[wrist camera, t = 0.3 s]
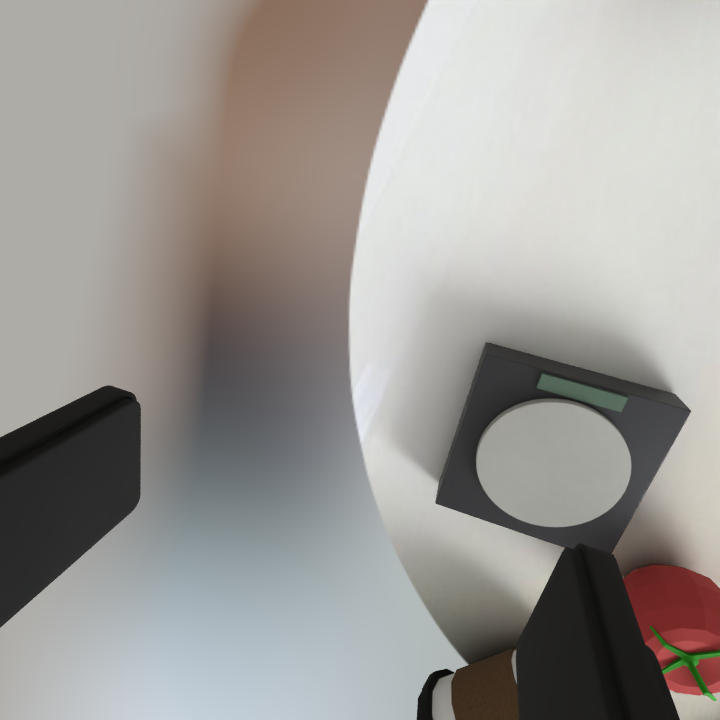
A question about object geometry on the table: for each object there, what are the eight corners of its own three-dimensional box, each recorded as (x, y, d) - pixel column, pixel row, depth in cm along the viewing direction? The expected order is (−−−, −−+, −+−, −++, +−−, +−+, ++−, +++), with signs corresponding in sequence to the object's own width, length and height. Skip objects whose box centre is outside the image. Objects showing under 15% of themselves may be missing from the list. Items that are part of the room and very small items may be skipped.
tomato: (625, 637, 35) (659, 746, 28) (577, 561, 34) (601, 655, 27) (741, 612, 32) (812, 728, 25) (692, 527, 31) (753, 624, 24)
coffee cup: (663, 829, 27) (506, 899, 30) (620, 691, 37) (506, 754, 40) (532, 671, 29) (397, 753, 32) (526, 581, 39) (424, 650, 42)
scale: (485, 341, 30) (485, 356, 27) (675, 393, 28) (696, 415, 25) (438, 483, 35) (434, 509, 32) (598, 537, 33) (609, 569, 30)
